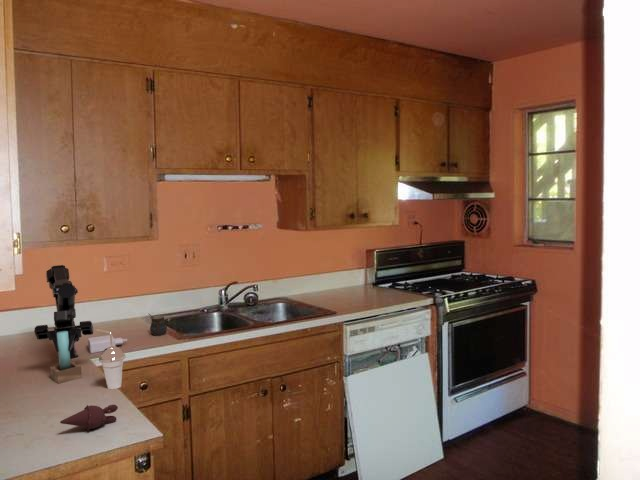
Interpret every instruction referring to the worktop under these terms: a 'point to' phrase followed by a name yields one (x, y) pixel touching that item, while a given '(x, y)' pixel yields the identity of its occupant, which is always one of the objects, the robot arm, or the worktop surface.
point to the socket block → (65, 373)
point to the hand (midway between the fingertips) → (63, 351)
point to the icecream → (91, 417)
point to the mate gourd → (158, 325)
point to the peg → (63, 350)
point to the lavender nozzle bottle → (102, 343)
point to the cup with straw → (112, 364)
